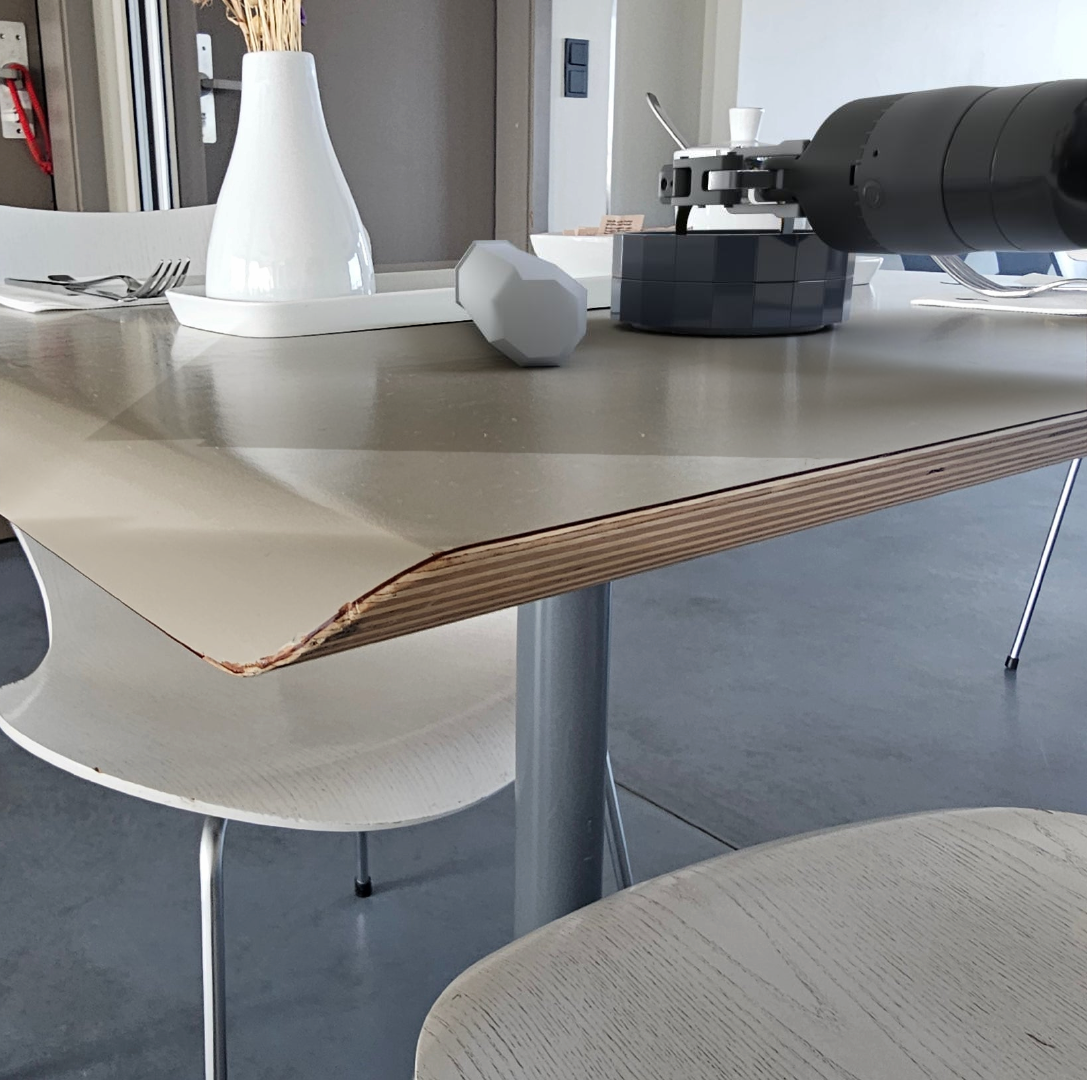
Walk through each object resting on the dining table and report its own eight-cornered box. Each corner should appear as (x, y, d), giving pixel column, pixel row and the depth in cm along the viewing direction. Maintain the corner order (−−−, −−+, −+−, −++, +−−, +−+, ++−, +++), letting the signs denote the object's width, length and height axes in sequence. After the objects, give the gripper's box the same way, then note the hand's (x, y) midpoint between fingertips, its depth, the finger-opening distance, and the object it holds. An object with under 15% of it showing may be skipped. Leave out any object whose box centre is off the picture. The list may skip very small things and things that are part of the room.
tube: (618, 280, 53) (545, 253, 76) (506, 242, 52) (467, 226, 75) (577, 394, 54) (518, 333, 78) (469, 359, 54) (442, 308, 77)
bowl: (745, 311, 81) (751, 227, 79) (899, 329, 69) (910, 230, 67) (568, 322, 76) (570, 232, 74) (702, 343, 63) (708, 236, 62)
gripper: (1038, 92, 59) (809, 118, 73) (813, 86, 53) (614, 115, 67) (1015, 250, 61) (799, 245, 76) (799, 260, 56) (610, 252, 70)
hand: (712, 184), depth 71 cm, fingers closed on ring, 6 cm apart
